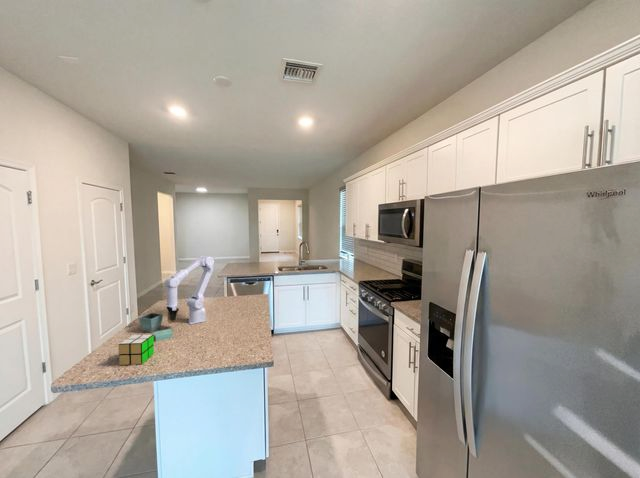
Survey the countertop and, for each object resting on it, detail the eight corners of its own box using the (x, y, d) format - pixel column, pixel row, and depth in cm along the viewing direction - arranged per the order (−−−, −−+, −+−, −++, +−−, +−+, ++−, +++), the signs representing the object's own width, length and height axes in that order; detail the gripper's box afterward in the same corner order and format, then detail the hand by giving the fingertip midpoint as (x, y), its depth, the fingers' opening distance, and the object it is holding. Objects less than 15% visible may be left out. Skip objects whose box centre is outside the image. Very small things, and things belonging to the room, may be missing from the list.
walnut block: (176, 319, 160) (175, 311, 159) (177, 321, 156) (177, 313, 156) (167, 321, 157) (167, 312, 156) (168, 323, 153) (168, 314, 153)
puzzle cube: (132, 354, 125) (132, 334, 125) (154, 353, 126) (153, 334, 125) (118, 365, 115) (118, 343, 115) (141, 364, 116) (141, 343, 116)
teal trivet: (170, 333, 151) (170, 328, 151) (172, 338, 144) (172, 333, 144) (154, 337, 146) (154, 332, 146) (155, 342, 139) (155, 336, 139)
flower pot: (151, 334, 149) (151, 319, 148) (138, 332, 151) (138, 317, 150) (163, 328, 157) (163, 314, 157) (151, 327, 159) (151, 313, 159)
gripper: (163, 295, 159) (163, 316, 160) (166, 301, 148) (166, 323, 148) (175, 293, 163) (176, 314, 164) (179, 298, 152) (180, 321, 153)
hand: (172, 318), depth 156 cm, fingers closed on walnut block, 4 cm apart
